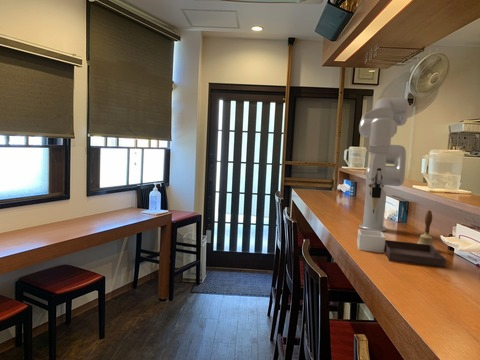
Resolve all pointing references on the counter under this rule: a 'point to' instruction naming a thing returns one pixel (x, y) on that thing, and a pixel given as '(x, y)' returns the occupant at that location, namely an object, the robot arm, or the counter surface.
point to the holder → (371, 241)
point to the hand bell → (427, 231)
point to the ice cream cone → (374, 200)
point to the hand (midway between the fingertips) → (374, 196)
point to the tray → (413, 253)
